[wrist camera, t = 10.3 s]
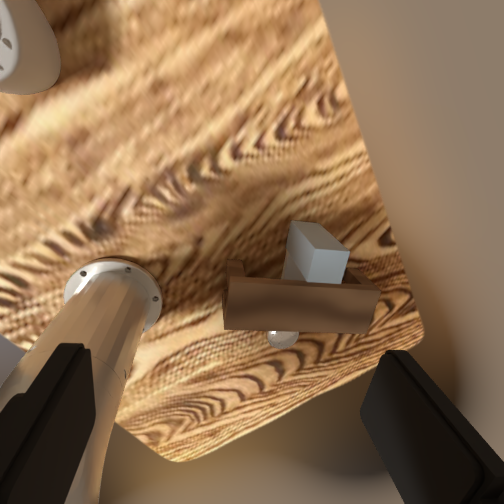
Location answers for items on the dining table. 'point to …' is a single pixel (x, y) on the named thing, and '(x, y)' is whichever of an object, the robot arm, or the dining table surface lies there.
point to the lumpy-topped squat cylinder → (26, 49)
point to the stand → (298, 303)
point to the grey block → (313, 254)
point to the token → (282, 338)
